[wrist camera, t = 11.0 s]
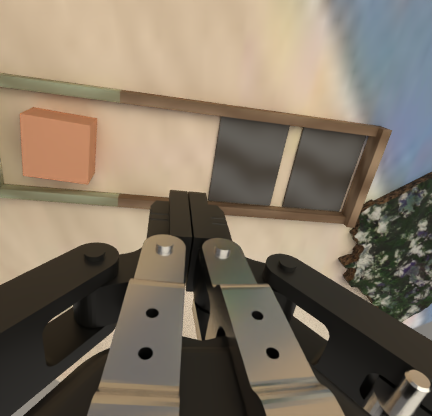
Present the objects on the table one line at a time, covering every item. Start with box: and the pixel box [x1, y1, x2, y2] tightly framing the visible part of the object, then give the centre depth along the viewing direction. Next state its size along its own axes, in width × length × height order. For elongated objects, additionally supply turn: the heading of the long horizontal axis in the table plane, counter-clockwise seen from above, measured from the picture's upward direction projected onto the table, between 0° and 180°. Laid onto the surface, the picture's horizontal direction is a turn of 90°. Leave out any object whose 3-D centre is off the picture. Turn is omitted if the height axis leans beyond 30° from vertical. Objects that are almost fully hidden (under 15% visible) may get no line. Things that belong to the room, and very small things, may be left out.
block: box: [20, 107, 97, 184], centre depth 37 cm, size 7×7×4 cm
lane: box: [0, 73, 392, 228], centre depth 40 cm, size 14×49×4 cm, turn 81°
